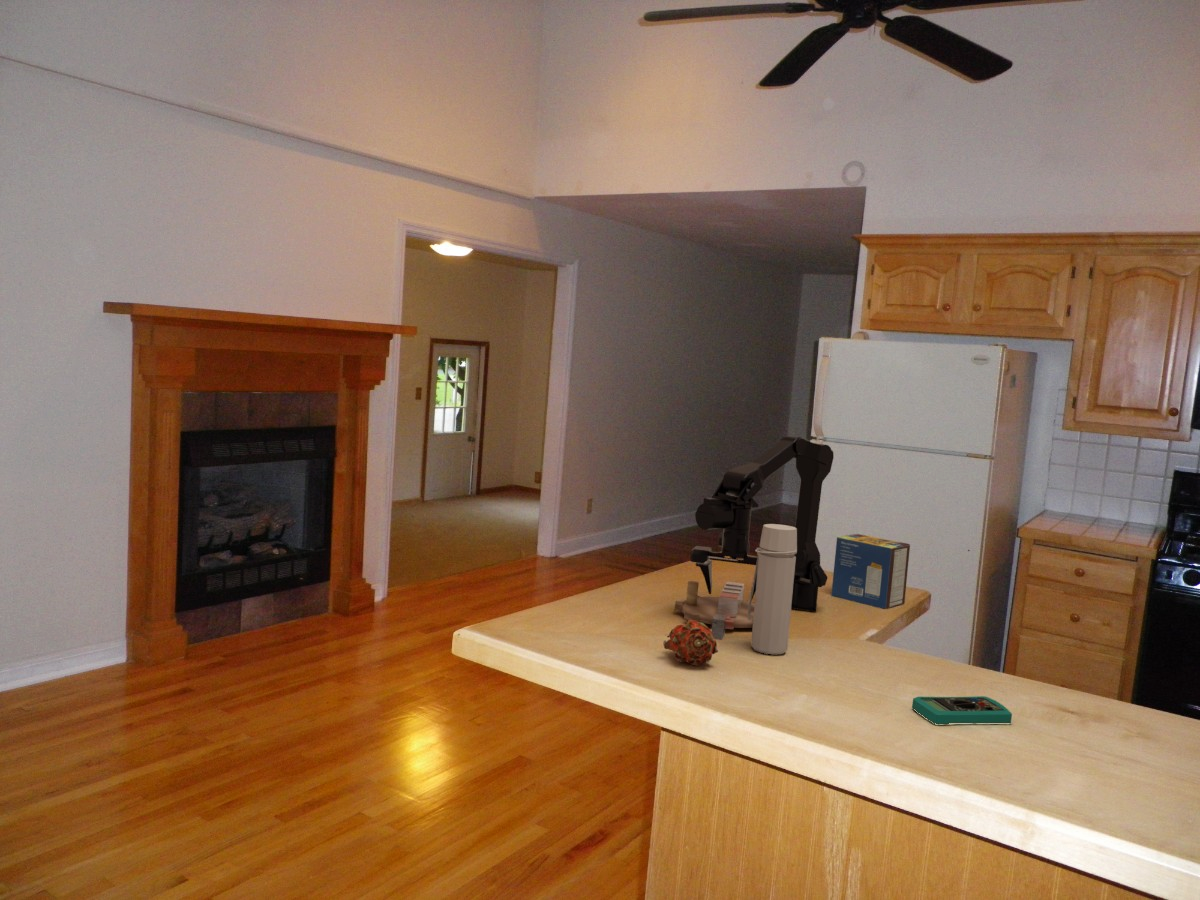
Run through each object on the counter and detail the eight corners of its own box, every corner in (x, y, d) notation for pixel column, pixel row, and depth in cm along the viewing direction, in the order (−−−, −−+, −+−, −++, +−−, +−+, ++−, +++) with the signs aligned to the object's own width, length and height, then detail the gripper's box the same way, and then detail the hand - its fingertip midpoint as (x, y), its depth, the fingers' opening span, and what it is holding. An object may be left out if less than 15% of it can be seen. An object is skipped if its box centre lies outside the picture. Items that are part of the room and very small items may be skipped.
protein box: (850, 590, 239) (855, 533, 238) (905, 604, 228) (911, 544, 227) (829, 595, 232) (835, 536, 230) (885, 609, 221) (892, 547, 220)
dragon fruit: (706, 682, 163) (669, 670, 173) (736, 650, 167) (698, 641, 177) (683, 646, 161) (647, 636, 171) (714, 615, 164) (677, 607, 175)
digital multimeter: (1014, 727, 149) (1016, 710, 148) (934, 728, 145) (936, 710, 145) (986, 710, 156) (988, 694, 155) (909, 711, 153) (911, 694, 152)
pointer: (725, 633, 190) (726, 615, 189) (722, 639, 185) (724, 620, 185) (713, 631, 190) (715, 613, 190) (710, 637, 186) (712, 618, 185)
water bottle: (795, 651, 180) (806, 528, 178) (773, 659, 174) (785, 531, 172) (756, 640, 186) (767, 521, 184) (734, 646, 181) (745, 523, 178)
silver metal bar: (742, 600, 208) (744, 582, 208) (736, 617, 193) (737, 598, 192) (725, 598, 209) (726, 580, 209) (717, 615, 194) (719, 596, 193)
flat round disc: (726, 597, 217) (729, 570, 217) (801, 622, 199) (804, 593, 198) (653, 606, 203) (655, 578, 203) (726, 635, 185) (729, 604, 184)
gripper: (781, 526, 205) (775, 594, 206) (700, 517, 209) (694, 583, 211) (778, 534, 194) (772, 605, 195) (692, 524, 199) (687, 594, 200)
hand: (730, 596), depth 201 cm, fingers open, 9 cm apart
